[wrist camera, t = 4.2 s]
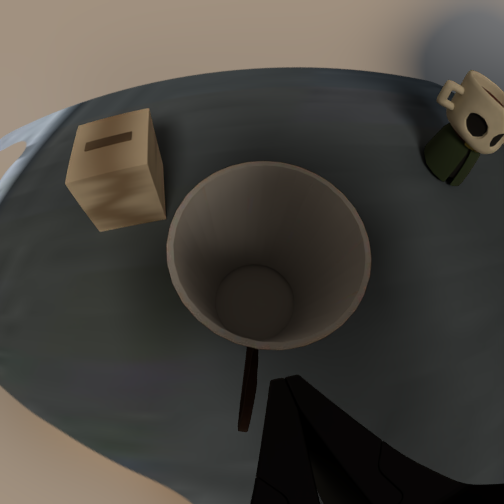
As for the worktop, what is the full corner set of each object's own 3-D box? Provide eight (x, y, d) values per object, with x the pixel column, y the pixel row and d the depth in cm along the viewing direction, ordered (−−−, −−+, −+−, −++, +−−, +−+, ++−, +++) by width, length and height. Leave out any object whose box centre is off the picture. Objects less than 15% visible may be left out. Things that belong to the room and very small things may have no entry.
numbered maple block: (97, 232, 22) (61, 183, 16) (101, 178, 25) (75, 125, 18) (166, 219, 23) (146, 162, 17) (163, 165, 26) (148, 106, 19)
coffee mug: (239, 228, 23) (245, 136, 14) (332, 287, 22) (395, 223, 13) (146, 348, 19) (81, 322, 10) (248, 420, 18) (263, 459, 8)
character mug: (406, 171, 28) (465, 82, 16) (402, 132, 31) (446, 51, 19) (476, 206, 27) (541, 140, 15) (468, 165, 30) (518, 101, 18)
